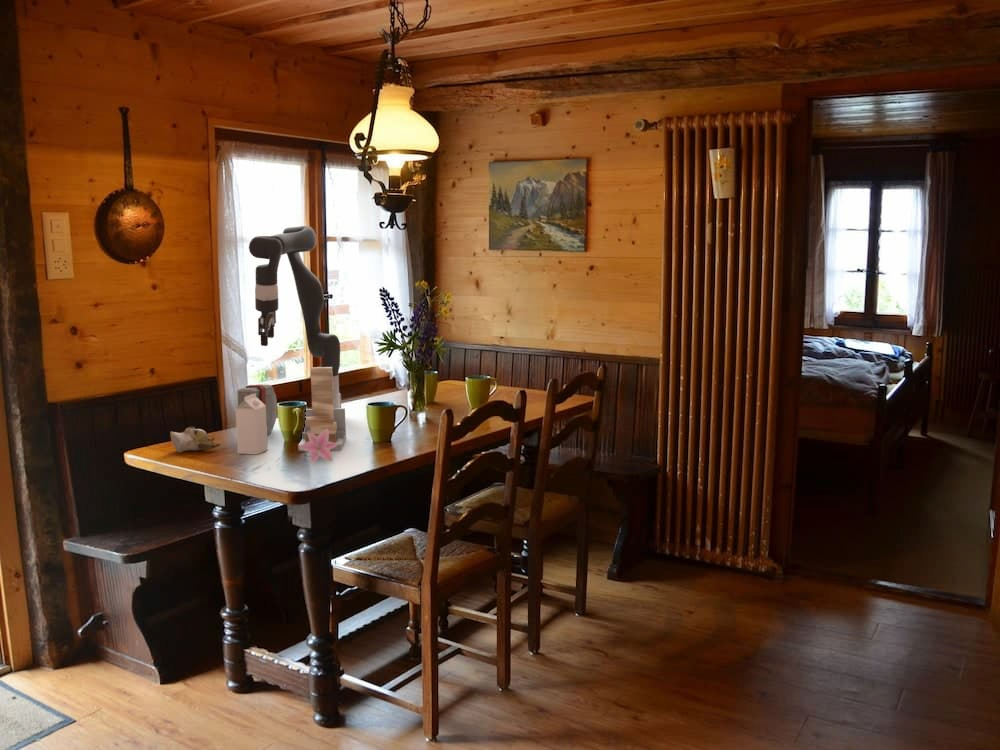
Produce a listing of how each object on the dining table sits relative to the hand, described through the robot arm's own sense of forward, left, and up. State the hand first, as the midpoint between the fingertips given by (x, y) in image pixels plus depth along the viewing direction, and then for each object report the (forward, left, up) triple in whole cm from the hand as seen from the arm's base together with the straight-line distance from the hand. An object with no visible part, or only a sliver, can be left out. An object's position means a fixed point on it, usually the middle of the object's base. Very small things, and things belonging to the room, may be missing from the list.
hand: (267, 341), depth 300 cm
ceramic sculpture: (+24, -11, -35) cm, 44 cm away
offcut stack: (-1, +22, -33) cm, 39 cm away
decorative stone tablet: (0, -6, -35) cm, 35 cm away
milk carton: (+16, +7, -35) cm, 39 cm away
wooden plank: (-6, +19, -33) cm, 38 cm away
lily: (+12, +33, -35) cm, 50 cm away
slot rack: (-4, +20, -35) cm, 40 cm away
